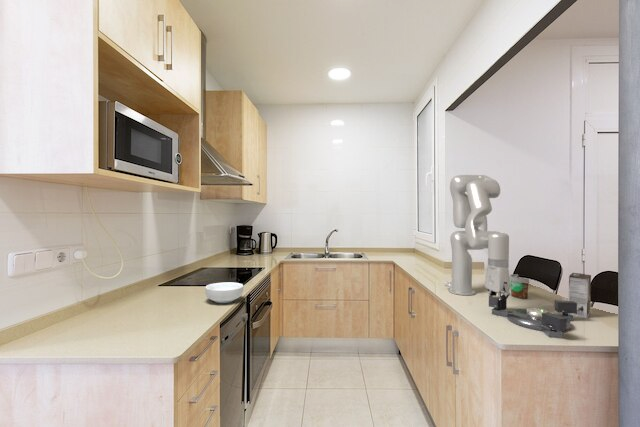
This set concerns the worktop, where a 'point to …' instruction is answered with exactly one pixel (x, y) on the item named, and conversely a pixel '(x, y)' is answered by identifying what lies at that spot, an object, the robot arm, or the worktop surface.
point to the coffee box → (580, 293)
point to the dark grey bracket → (494, 301)
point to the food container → (519, 286)
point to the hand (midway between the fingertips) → (497, 307)
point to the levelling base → (532, 322)
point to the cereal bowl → (224, 291)
